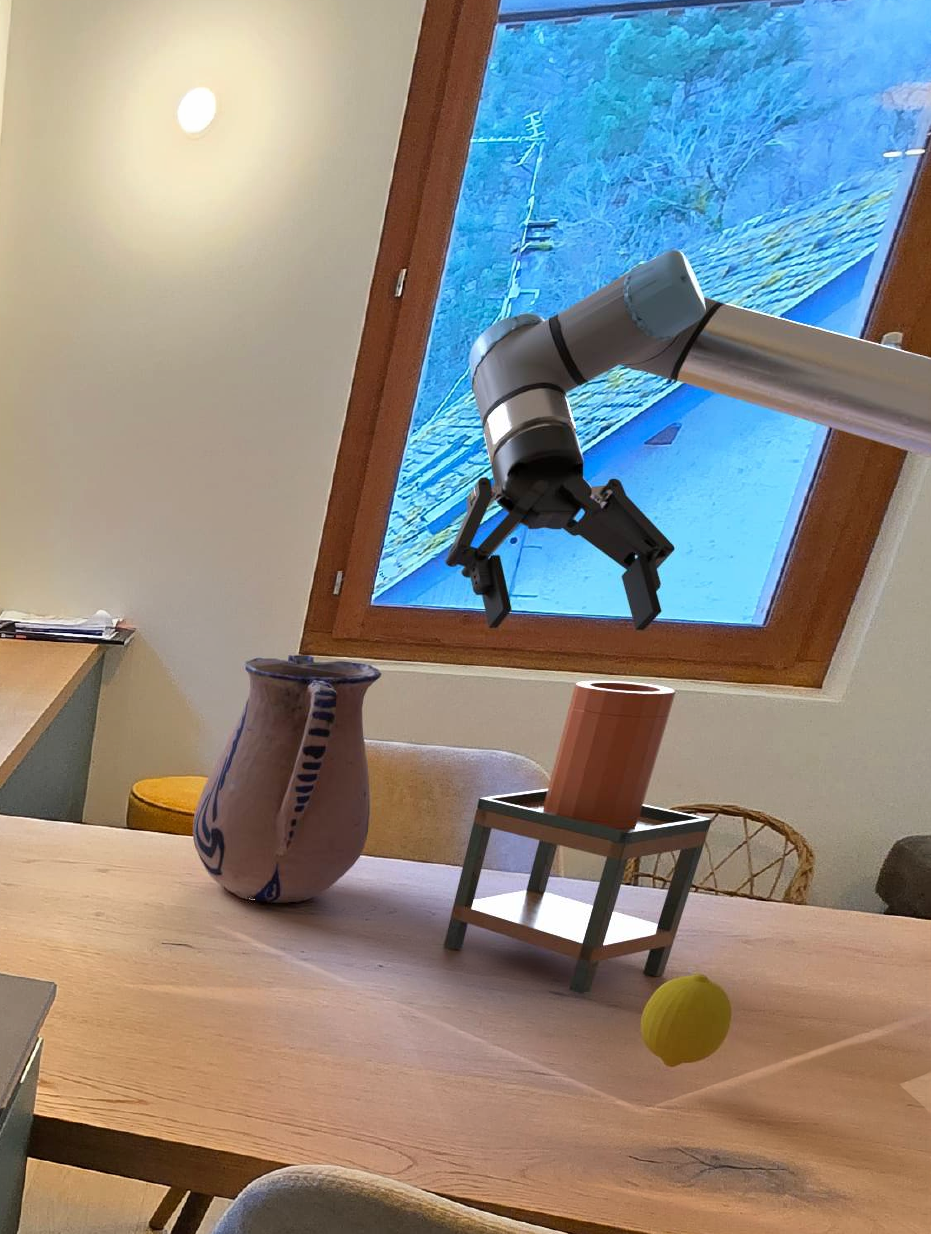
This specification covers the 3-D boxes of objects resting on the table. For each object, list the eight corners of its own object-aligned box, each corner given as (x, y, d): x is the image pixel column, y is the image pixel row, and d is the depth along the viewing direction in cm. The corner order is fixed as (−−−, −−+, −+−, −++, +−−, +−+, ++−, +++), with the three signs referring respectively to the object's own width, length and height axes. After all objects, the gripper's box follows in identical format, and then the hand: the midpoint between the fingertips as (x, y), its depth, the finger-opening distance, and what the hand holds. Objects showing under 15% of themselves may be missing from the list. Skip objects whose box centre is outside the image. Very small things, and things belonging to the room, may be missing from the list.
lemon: (641, 1077, 103) (672, 984, 99) (618, 1047, 108) (648, 957, 104) (723, 1086, 101) (758, 992, 98) (697, 1055, 106) (729, 964, 103)
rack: (663, 974, 124) (712, 819, 118) (581, 994, 119) (628, 832, 113) (522, 930, 135) (560, 786, 129) (443, 946, 131) (478, 798, 125)
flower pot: (654, 823, 120) (694, 690, 115) (603, 832, 117) (641, 695, 113) (575, 806, 126) (609, 679, 122) (524, 813, 123) (557, 683, 119)
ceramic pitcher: (322, 866, 154) (366, 648, 143) (389, 934, 135) (446, 688, 124) (168, 863, 156) (201, 648, 145) (213, 929, 137) (254, 687, 126)
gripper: (638, 479, 136) (685, 647, 128) (389, 477, 137) (420, 643, 129) (685, 421, 129) (738, 594, 121) (423, 420, 130) (458, 591, 122)
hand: (574, 620), depth 125 cm, fingers open, 13 cm apart
